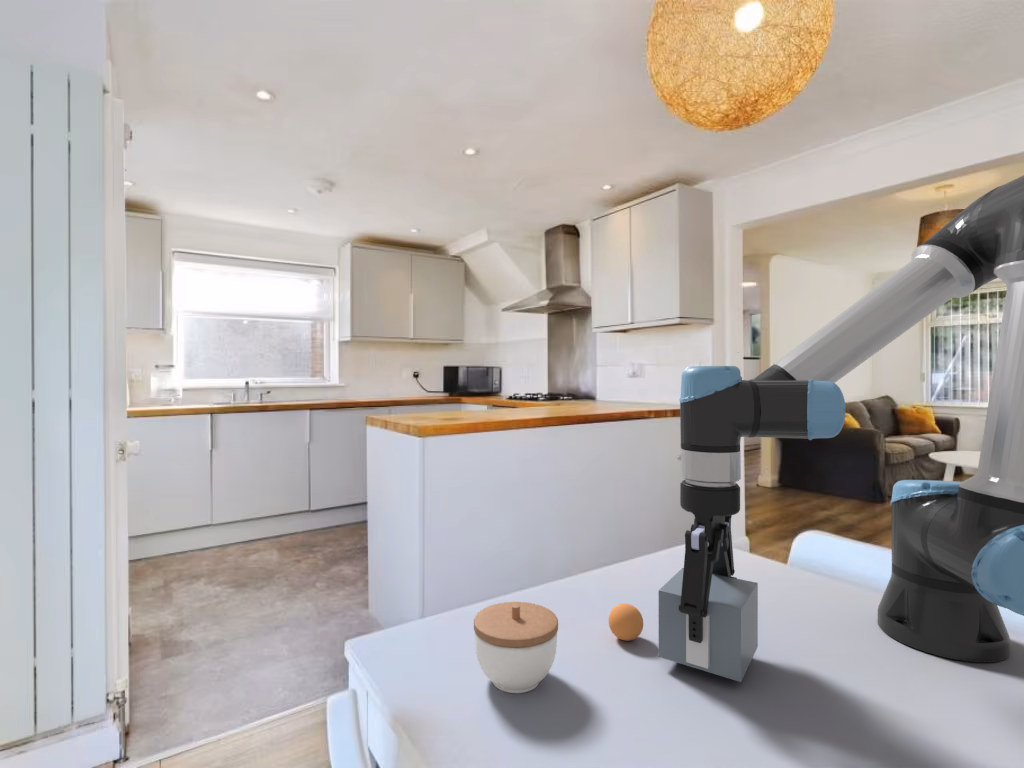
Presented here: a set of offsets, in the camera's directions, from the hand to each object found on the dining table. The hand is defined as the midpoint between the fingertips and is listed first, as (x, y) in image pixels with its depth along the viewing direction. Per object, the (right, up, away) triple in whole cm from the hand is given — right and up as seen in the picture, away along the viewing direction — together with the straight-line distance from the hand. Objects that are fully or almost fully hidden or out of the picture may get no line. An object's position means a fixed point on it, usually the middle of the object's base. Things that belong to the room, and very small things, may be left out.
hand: (709, 646), depth 71 cm
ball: (-10, 0, +7) cm, 12 cm away
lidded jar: (-26, -3, -4) cm, 26 cm away
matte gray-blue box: (0, -1, 0) cm, 1 cm away
